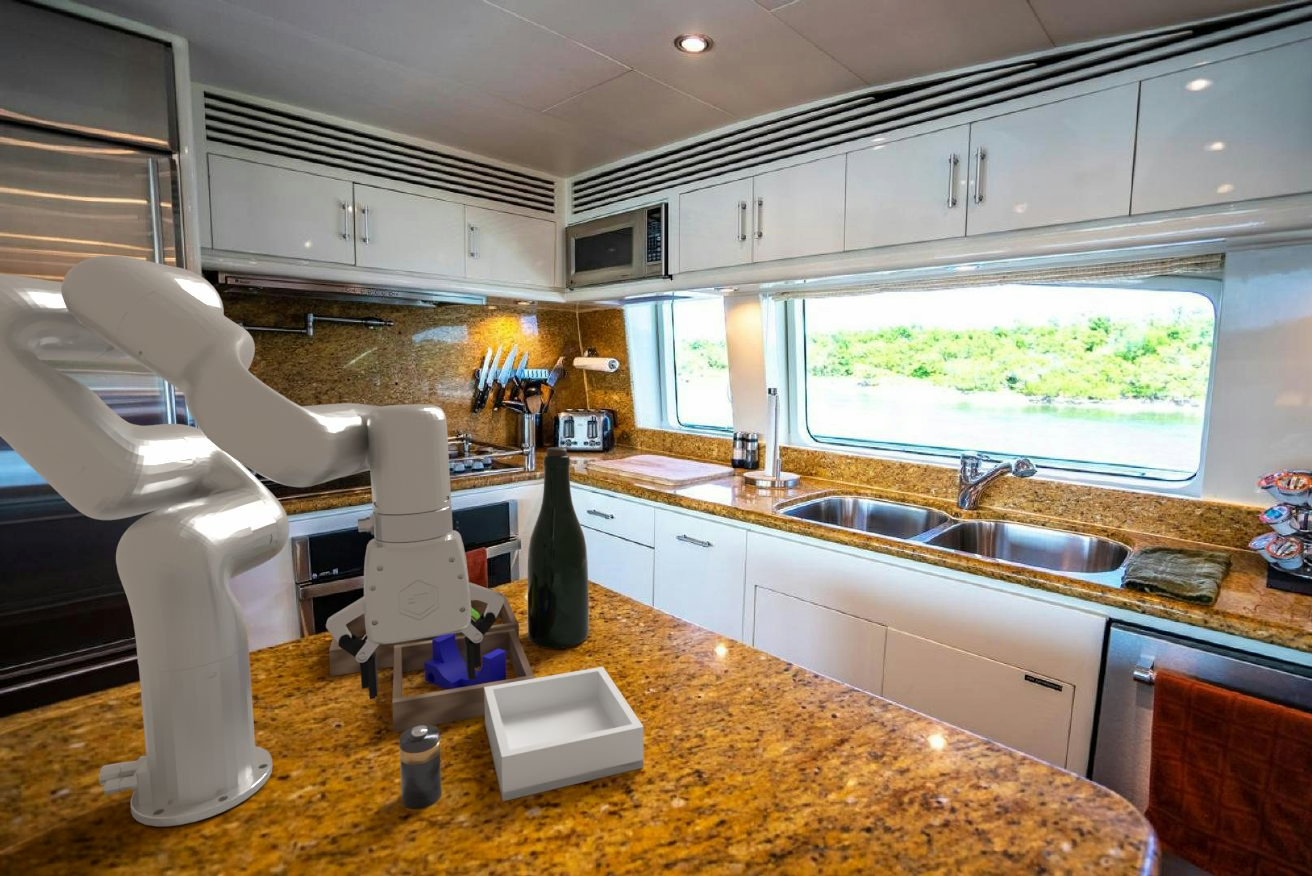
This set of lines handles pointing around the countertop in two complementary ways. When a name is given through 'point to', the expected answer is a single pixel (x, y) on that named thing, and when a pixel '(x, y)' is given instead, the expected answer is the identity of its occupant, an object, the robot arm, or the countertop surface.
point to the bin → (560, 731)
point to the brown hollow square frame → (451, 701)
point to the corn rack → (385, 652)
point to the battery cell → (420, 766)
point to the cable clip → (461, 665)
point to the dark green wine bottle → (557, 563)
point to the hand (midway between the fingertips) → (423, 683)
